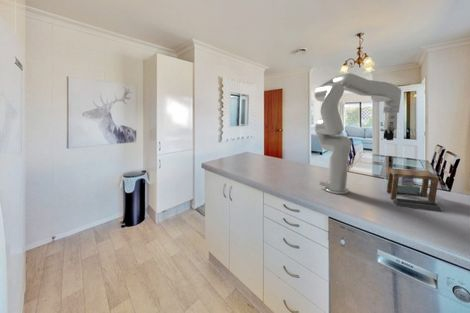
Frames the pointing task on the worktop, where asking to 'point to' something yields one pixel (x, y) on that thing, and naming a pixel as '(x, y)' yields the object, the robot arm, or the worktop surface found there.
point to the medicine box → (405, 181)
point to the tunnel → (418, 174)
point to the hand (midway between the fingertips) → (388, 139)
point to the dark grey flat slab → (417, 204)
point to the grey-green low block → (407, 188)
